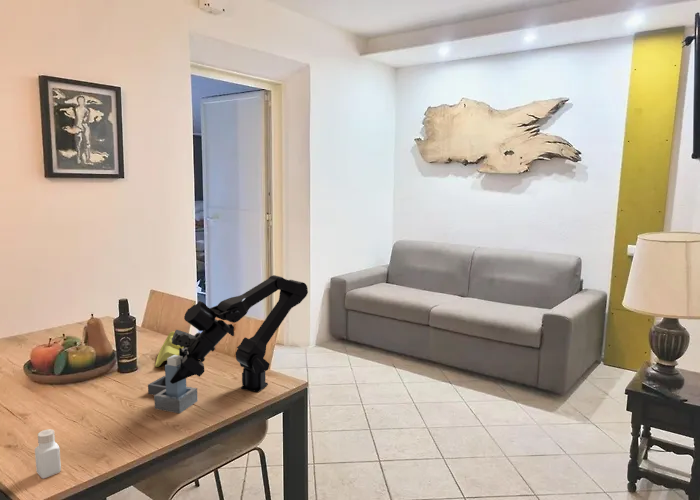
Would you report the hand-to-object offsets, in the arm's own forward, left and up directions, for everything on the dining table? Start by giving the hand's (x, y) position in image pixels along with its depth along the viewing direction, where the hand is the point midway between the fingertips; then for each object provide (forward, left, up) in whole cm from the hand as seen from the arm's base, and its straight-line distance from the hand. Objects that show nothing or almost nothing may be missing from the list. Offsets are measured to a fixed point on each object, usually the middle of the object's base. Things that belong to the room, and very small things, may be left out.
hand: (170, 378), depth 144 cm
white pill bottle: (+4, +37, -8) cm, 38 cm away
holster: (+8, -8, -8) cm, 14 cm away
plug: (-1, -1, -7) cm, 7 cm away
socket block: (-1, -1, -8) cm, 8 cm away
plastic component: (+24, -33, -9) cm, 42 cm away
